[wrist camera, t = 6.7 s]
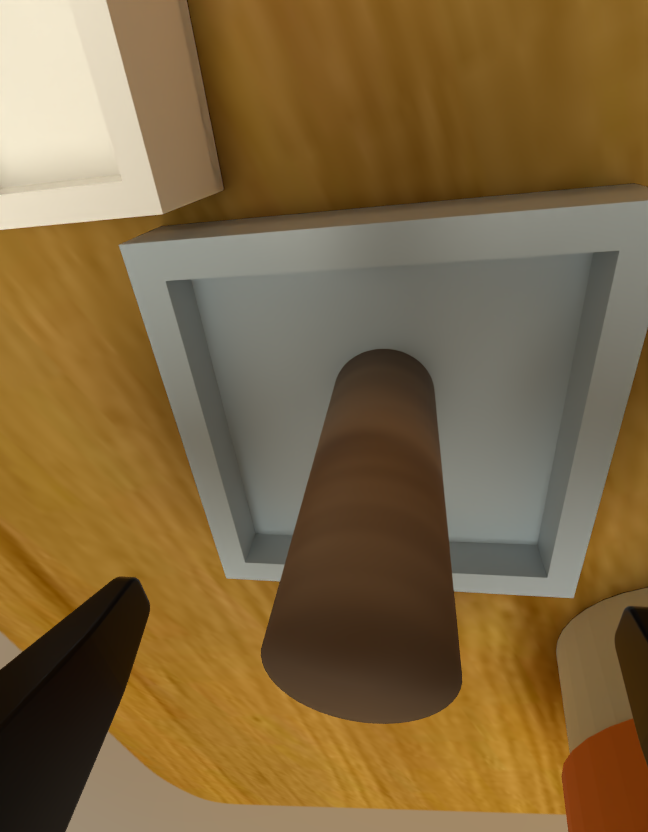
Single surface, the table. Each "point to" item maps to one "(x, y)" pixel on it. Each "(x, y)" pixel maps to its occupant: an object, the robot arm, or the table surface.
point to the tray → (420, 338)
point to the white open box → (101, 112)
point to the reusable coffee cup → (600, 725)
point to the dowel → (370, 557)
